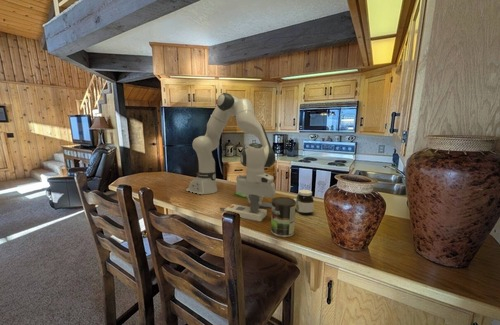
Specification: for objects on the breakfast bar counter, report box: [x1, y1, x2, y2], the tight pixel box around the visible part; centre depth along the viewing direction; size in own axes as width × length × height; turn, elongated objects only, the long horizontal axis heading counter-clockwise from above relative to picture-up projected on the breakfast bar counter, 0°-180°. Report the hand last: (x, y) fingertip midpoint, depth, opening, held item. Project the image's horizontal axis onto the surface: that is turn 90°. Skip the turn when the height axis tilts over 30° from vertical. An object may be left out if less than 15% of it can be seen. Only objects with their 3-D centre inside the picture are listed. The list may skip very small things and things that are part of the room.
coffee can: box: [270, 196, 296, 238], centre depth 93 cm, size 10×10×14 cm
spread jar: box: [293, 189, 315, 216], centre depth 115 cm, size 12×11×12 cm
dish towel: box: [233, 191, 248, 200], centre depth 146 cm, size 17×23×4 cm
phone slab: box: [259, 201, 272, 209], centre depth 125 cm, size 14×7×1 cm, turn 71°
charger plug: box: [249, 194, 261, 211], centre depth 107 cm, size 4×4×8 cm
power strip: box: [219, 203, 268, 223], centre depth 111 cm, size 25×9×4 cm, turn 67°
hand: (254, 203), depth 108 cm, fingers closed on charger plug, 3 cm apart
